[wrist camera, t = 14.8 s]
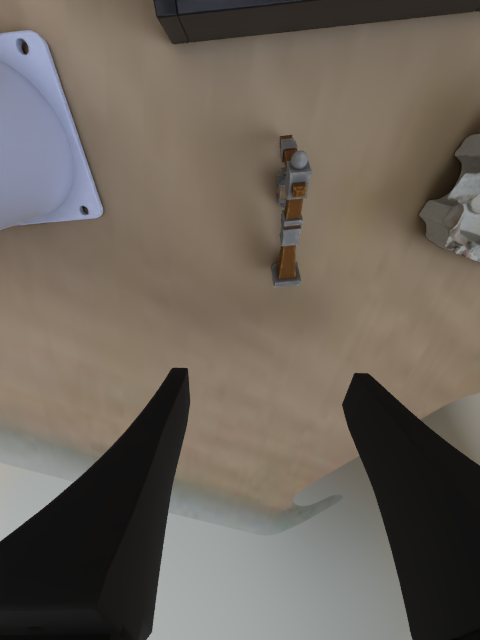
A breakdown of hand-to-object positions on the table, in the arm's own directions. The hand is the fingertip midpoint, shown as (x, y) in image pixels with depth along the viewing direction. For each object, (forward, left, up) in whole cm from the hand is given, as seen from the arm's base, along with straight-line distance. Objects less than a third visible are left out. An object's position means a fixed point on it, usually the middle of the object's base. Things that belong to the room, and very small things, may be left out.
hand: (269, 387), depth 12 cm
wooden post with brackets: (+2, +5, -10) cm, 11 cm away
